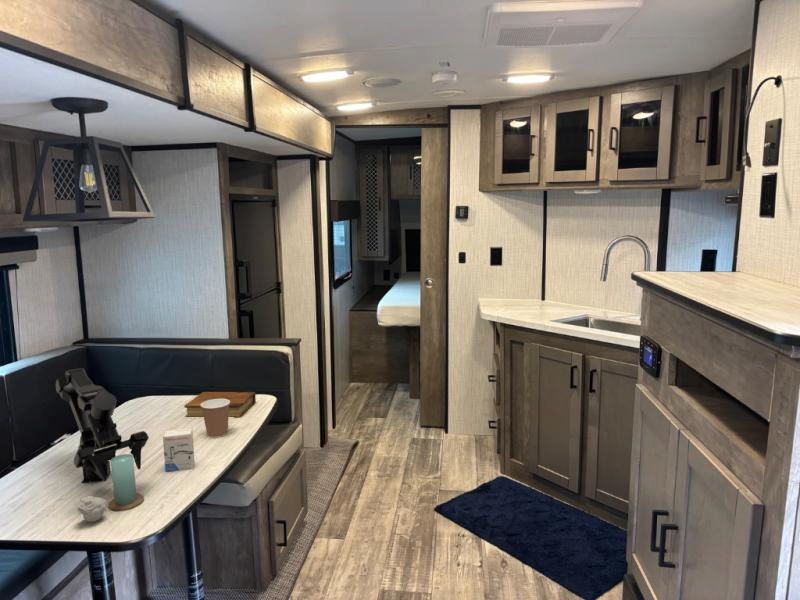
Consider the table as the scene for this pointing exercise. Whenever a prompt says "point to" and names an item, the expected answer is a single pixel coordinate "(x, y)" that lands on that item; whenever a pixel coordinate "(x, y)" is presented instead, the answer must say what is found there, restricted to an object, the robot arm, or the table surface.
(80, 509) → the white sculpted piece
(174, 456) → the ink box
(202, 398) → the diary
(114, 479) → the teal round cylinder
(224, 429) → the coffee cup
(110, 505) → the coaster
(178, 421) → the table surface
